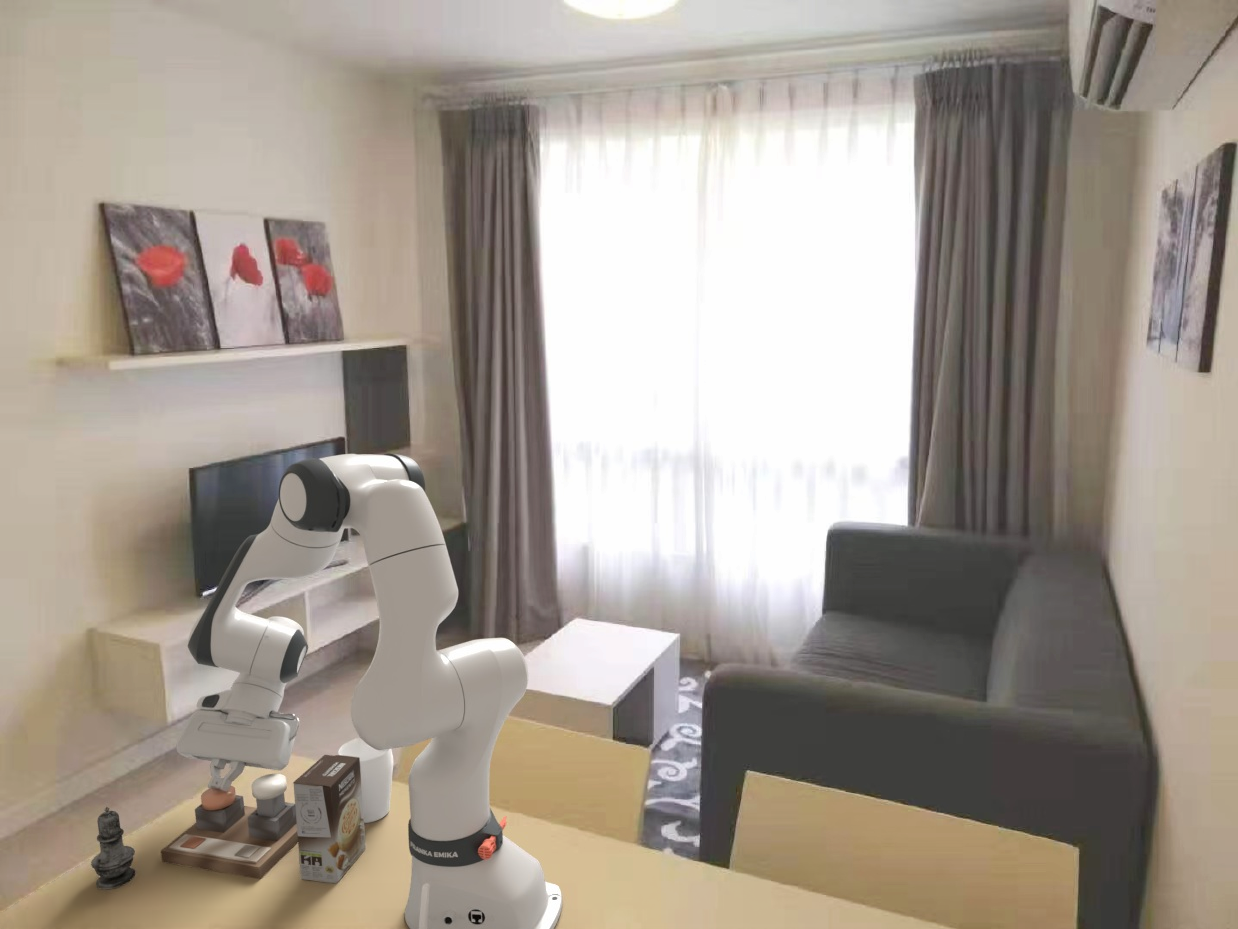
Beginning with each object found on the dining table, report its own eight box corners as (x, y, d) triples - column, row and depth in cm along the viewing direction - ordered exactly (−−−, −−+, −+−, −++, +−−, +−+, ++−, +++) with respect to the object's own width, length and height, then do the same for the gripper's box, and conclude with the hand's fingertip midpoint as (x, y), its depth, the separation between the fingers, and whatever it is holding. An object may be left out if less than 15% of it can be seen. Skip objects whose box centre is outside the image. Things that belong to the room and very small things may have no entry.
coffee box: (338, 885, 133) (330, 787, 130) (299, 880, 134) (291, 783, 131) (367, 848, 141) (360, 756, 139) (331, 844, 143) (323, 753, 140)
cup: (381, 792, 158) (376, 730, 156) (406, 813, 151) (402, 748, 149) (333, 812, 152) (328, 748, 150) (357, 834, 145) (352, 767, 143)
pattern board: (313, 826, 148) (311, 797, 147) (260, 879, 134) (257, 846, 133) (222, 813, 152) (219, 783, 151) (161, 862, 139) (158, 830, 138)
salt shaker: (118, 893, 132) (108, 820, 129) (84, 888, 133) (74, 816, 131) (146, 868, 137) (137, 798, 135) (113, 864, 138) (104, 794, 136)
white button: (295, 804, 145) (292, 775, 144) (275, 822, 140) (272, 792, 139) (267, 800, 146) (265, 772, 145) (247, 818, 141) (244, 788, 140)
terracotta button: (244, 815, 148) (242, 786, 147) (223, 833, 143) (220, 803, 142) (218, 811, 149) (215, 783, 148) (196, 828, 144) (193, 799, 143)
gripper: (311, 721, 153) (281, 803, 145) (211, 709, 158) (177, 788, 150) (294, 708, 148) (262, 792, 140) (191, 696, 153) (154, 777, 145)
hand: (217, 790), depth 145 cm, fingers closed, pressing on terracotta button
